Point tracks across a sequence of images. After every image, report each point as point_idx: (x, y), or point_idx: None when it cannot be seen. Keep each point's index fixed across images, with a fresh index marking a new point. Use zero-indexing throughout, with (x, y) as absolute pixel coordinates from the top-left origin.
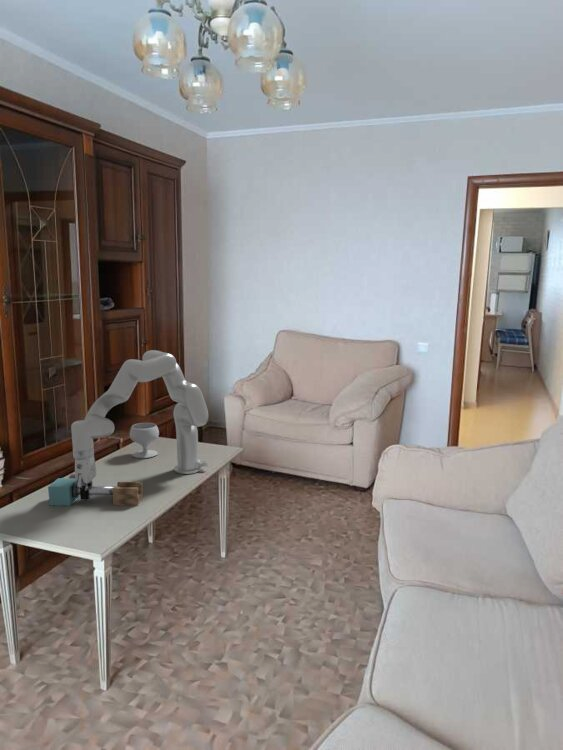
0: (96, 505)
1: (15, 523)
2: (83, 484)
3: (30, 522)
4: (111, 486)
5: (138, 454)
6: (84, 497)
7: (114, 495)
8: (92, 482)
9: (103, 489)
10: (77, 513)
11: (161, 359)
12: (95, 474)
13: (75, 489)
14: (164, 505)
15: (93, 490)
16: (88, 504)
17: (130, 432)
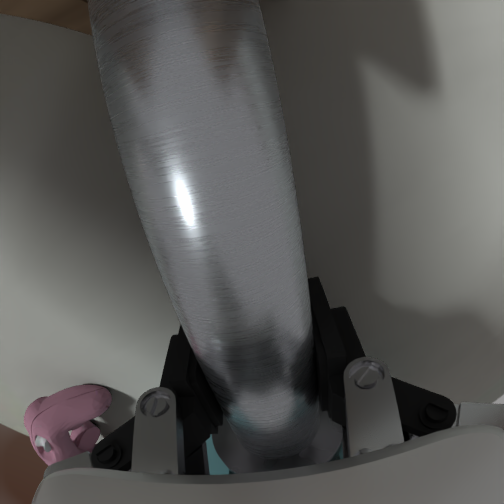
0: (333, 160)
1: (488, 397)
2: (88, 415)
3: (499, 368)
4: (130, 6)
5: None
6: (346, 317)
7: None
8: (137, 410)
9: (266, 124)
10: (473, 238)
11: None
12: (75, 500)
13: (333, 440)
14: None
15: (304, 294)
16: (321, 247)
17: None
